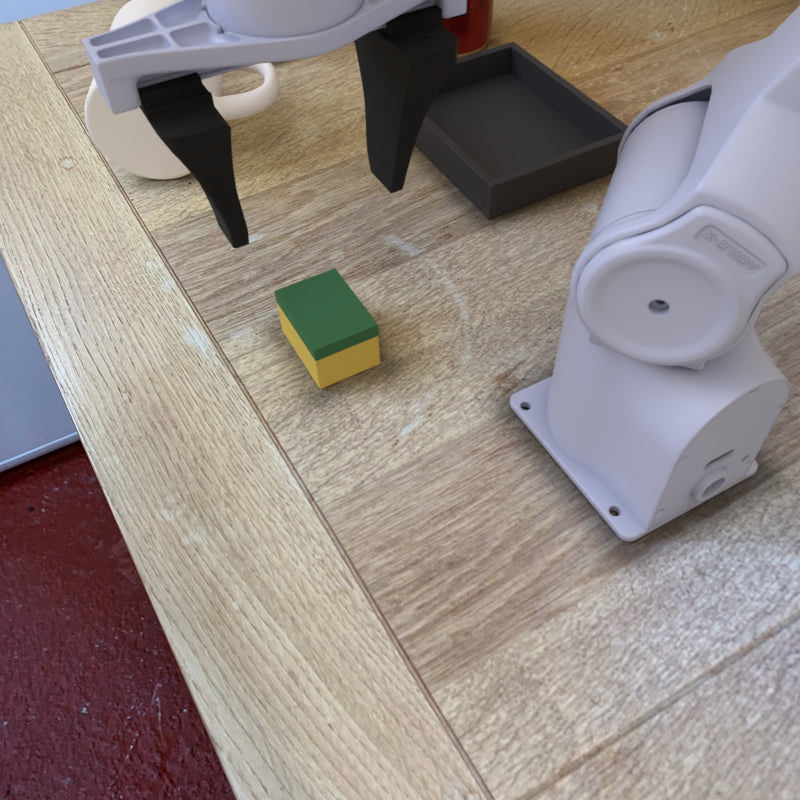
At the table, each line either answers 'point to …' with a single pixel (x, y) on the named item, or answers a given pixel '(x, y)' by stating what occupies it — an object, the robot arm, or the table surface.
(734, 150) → the robot arm
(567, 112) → the tray
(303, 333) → the sponge
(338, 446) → the table surface
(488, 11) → the soda can
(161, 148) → the mug
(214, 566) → the table surface
